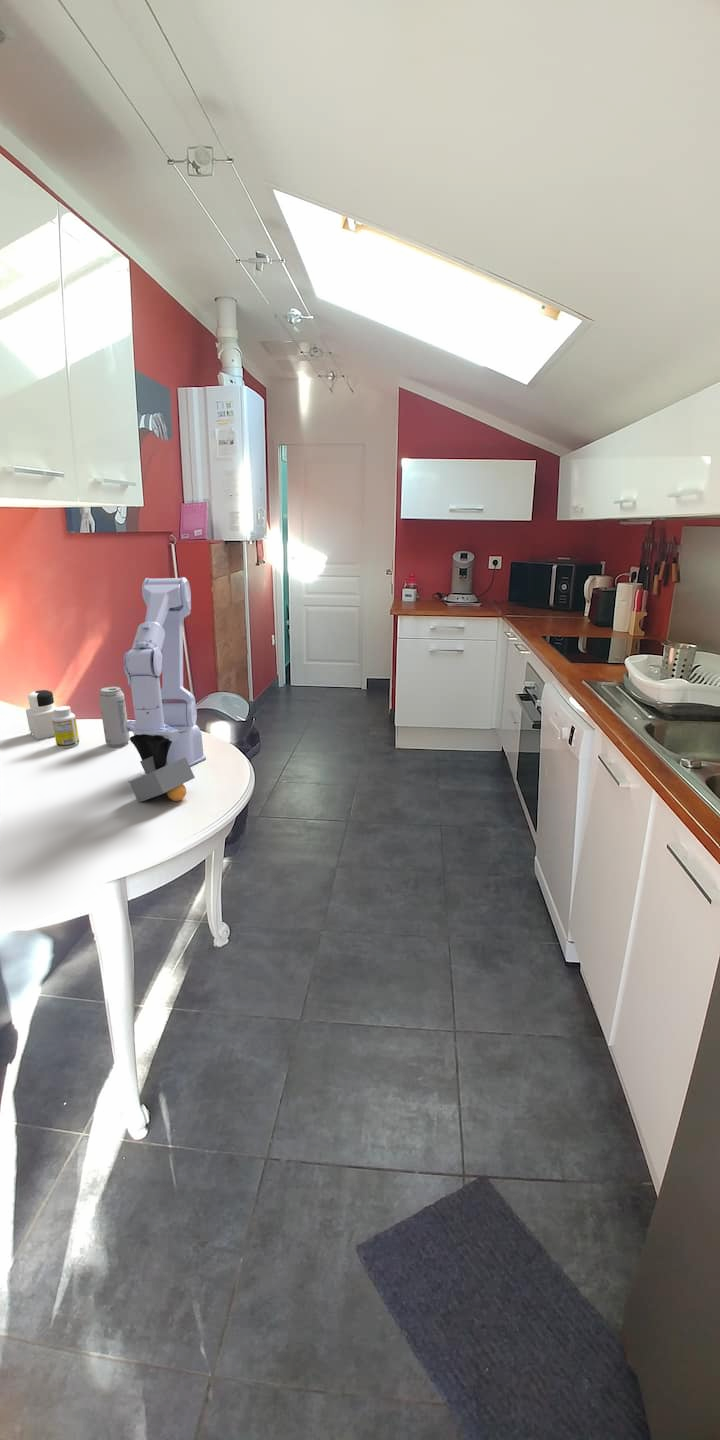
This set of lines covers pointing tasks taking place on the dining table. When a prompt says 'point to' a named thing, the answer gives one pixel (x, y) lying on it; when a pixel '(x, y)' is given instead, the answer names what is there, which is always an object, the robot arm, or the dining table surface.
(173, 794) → the ball
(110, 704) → the energy drink can
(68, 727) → the supplement bottle
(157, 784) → the grey stepped block
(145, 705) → the robot arm
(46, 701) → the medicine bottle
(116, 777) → the dining table surface
